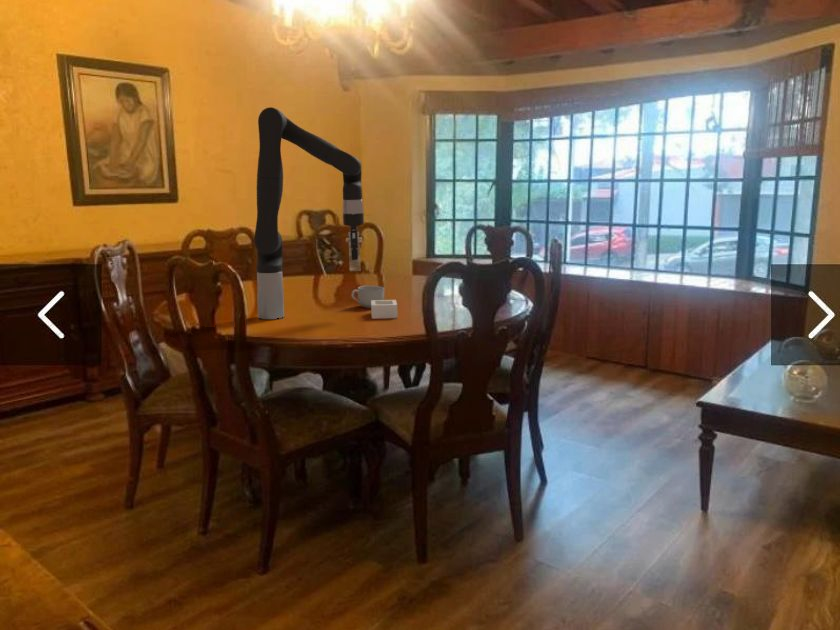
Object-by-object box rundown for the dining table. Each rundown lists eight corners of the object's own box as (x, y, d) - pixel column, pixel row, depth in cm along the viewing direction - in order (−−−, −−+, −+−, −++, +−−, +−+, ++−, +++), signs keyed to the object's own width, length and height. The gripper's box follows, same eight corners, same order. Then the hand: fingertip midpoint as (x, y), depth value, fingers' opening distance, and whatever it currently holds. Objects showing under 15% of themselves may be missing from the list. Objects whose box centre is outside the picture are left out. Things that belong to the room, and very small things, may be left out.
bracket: (347, 271, 247) (345, 238, 245) (347, 269, 251) (346, 237, 249) (363, 270, 248) (362, 238, 246) (363, 269, 252) (362, 237, 249)
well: (371, 318, 248) (371, 305, 247) (371, 313, 259) (371, 300, 258) (397, 318, 249) (397, 304, 248) (395, 312, 260) (395, 299, 259)
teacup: (380, 303, 279) (379, 284, 278) (388, 308, 269) (387, 288, 268) (347, 306, 274) (347, 286, 273) (354, 310, 264) (353, 290, 263)
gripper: (343, 211, 252) (345, 257, 255) (342, 213, 238) (344, 261, 241) (363, 211, 253) (364, 256, 256) (363, 212, 239) (365, 260, 242)
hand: (354, 258), depth 249 cm, fingers closed on bracket, 4 cm apart
